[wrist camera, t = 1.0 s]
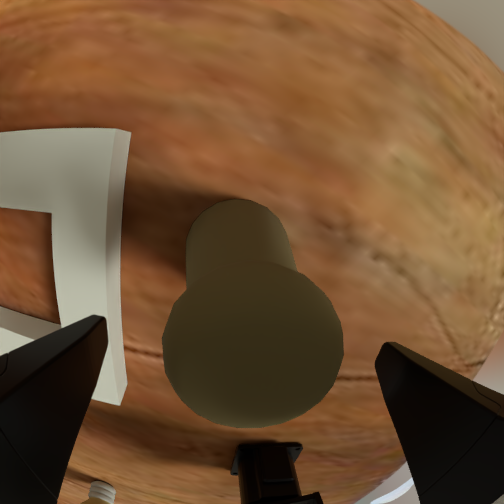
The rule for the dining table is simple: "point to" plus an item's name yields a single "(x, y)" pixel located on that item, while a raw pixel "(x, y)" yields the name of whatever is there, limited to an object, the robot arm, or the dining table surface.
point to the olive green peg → (249, 323)
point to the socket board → (72, 231)
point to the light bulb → (100, 493)
